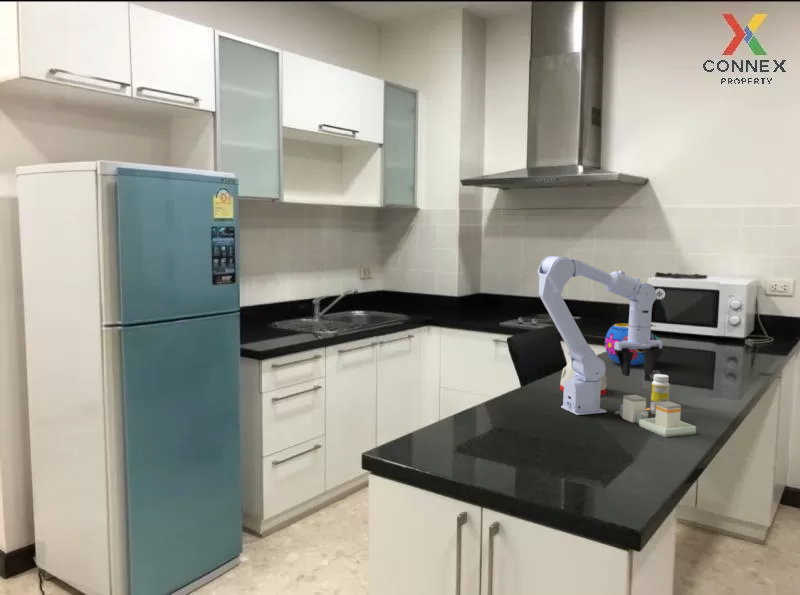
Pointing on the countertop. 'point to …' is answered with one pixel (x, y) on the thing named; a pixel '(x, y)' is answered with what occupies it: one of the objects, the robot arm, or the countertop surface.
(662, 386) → the supplement bottle
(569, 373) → the kitchen timer
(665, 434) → the tray
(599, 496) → the countertop surface
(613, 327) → the ceramic pot
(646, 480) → the countertop surface
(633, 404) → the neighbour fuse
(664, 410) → the white box with band
